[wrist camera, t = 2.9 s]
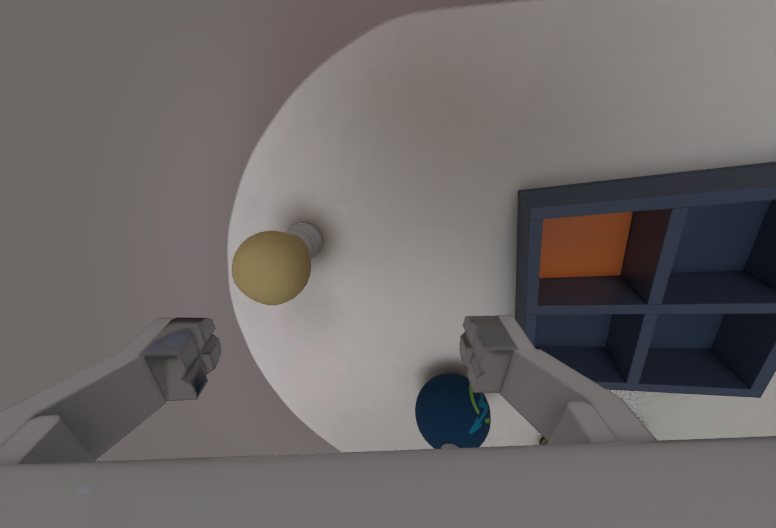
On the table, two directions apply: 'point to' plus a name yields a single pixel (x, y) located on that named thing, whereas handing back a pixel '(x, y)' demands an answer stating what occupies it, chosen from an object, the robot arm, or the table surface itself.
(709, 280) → the navy compartment tray
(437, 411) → the christmas ornament
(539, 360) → the robot arm
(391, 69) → the table surface
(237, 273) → the light bulb
